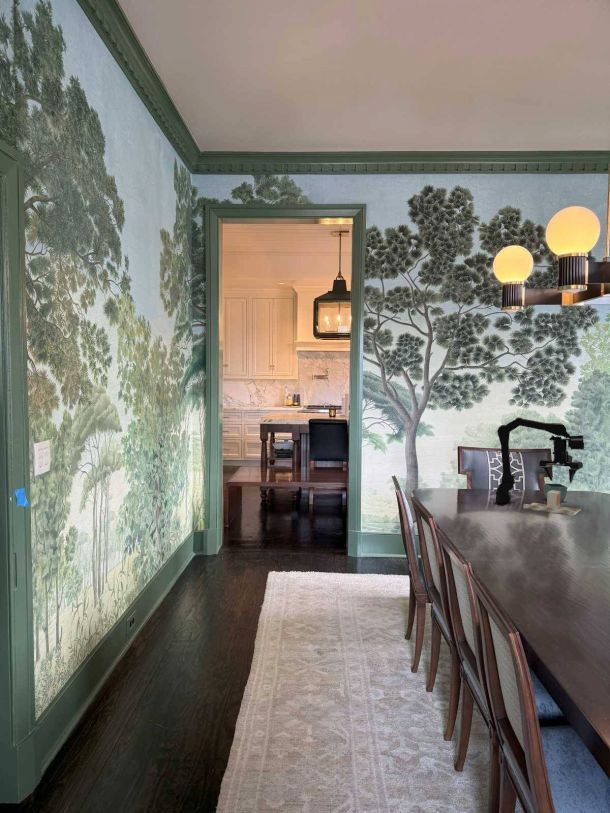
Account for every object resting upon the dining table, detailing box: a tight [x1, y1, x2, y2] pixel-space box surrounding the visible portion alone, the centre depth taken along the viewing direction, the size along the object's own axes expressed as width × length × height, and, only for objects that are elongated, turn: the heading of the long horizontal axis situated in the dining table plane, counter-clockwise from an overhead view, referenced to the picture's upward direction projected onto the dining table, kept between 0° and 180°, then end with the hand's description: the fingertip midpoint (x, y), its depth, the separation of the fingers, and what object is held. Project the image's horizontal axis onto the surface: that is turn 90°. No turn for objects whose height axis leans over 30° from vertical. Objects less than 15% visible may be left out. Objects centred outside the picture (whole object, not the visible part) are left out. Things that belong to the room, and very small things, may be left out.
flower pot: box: [542, 483, 568, 503], centre depth 278 cm, size 9×9×9 cm
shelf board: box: [523, 502, 582, 517], centre depth 260 cm, size 22×16×3 cm
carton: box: [546, 490, 561, 509], centre depth 261 cm, size 4×7×8 cm, turn 141°
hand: (561, 481), depth 263 cm, fingers open, 9 cm apart
